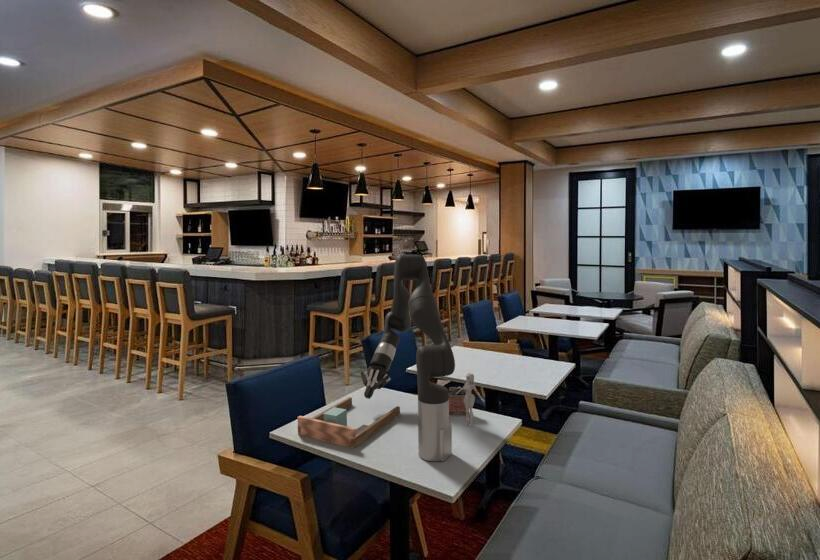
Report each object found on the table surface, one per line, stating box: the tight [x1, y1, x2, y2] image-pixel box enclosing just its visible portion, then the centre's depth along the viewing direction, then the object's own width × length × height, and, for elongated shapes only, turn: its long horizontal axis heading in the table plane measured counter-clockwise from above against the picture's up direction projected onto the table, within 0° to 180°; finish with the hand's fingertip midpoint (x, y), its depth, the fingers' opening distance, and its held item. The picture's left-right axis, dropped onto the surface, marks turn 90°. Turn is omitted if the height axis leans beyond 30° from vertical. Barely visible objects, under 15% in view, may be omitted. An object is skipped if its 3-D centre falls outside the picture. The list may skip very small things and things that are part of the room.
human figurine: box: [455, 372, 486, 428], centre depth 159 cm, size 12×4×18 cm, turn 47°
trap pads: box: [356, 424, 369, 434], centre depth 159 cm, size 18×8×1 cm, turn 62°
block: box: [324, 407, 348, 426], centre depth 153 cm, size 5×6×8 cm
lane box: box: [297, 396, 401, 449], centre depth 161 cm, size 22×29×6 cm
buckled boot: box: [448, 386, 466, 417], centre depth 169 cm, size 8×3×10 cm, turn 84°
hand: (367, 397), depth 170 cm, fingers closed
